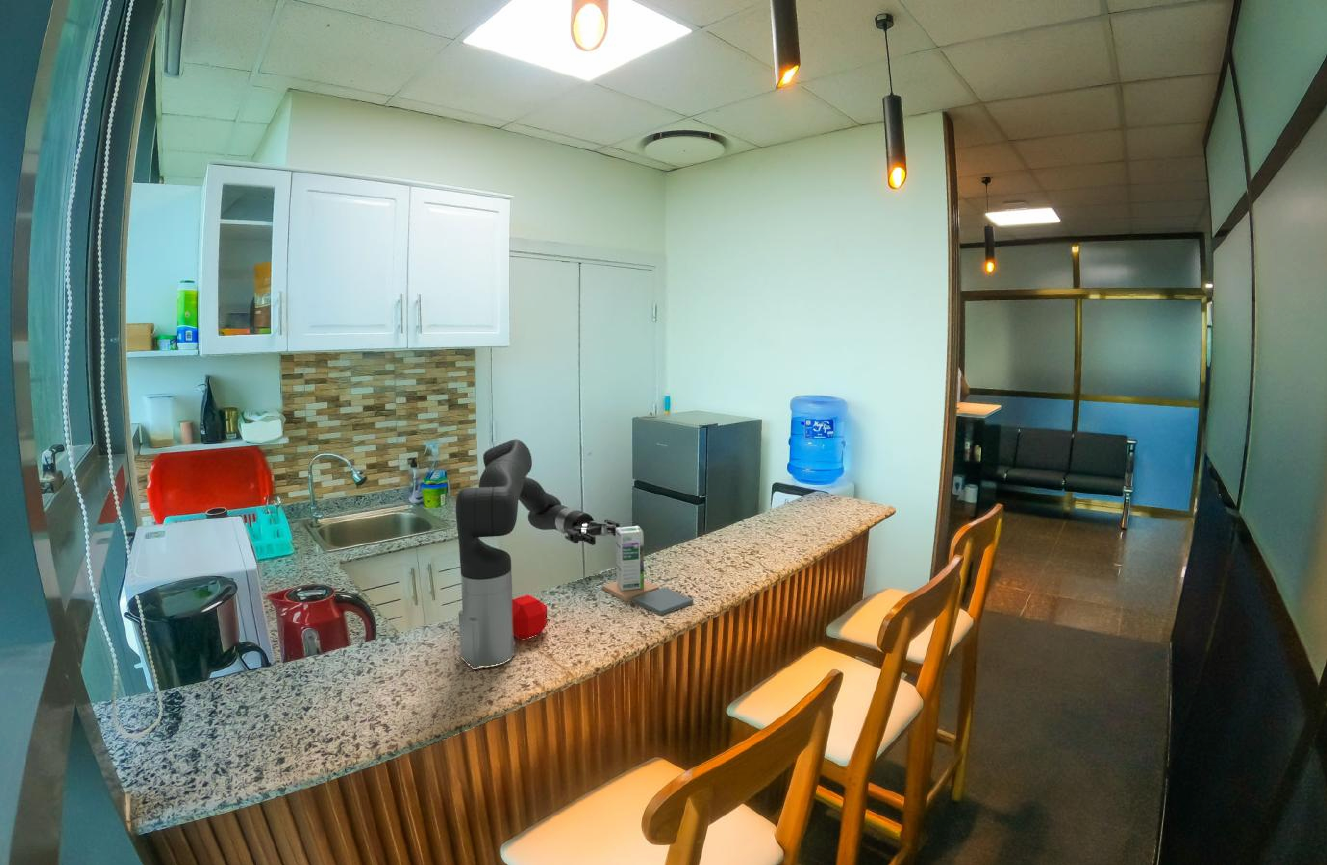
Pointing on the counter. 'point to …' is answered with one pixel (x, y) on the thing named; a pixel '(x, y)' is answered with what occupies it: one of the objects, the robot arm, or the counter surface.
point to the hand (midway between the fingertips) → (608, 537)
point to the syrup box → (630, 558)
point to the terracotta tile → (628, 594)
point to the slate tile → (663, 601)
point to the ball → (528, 616)
